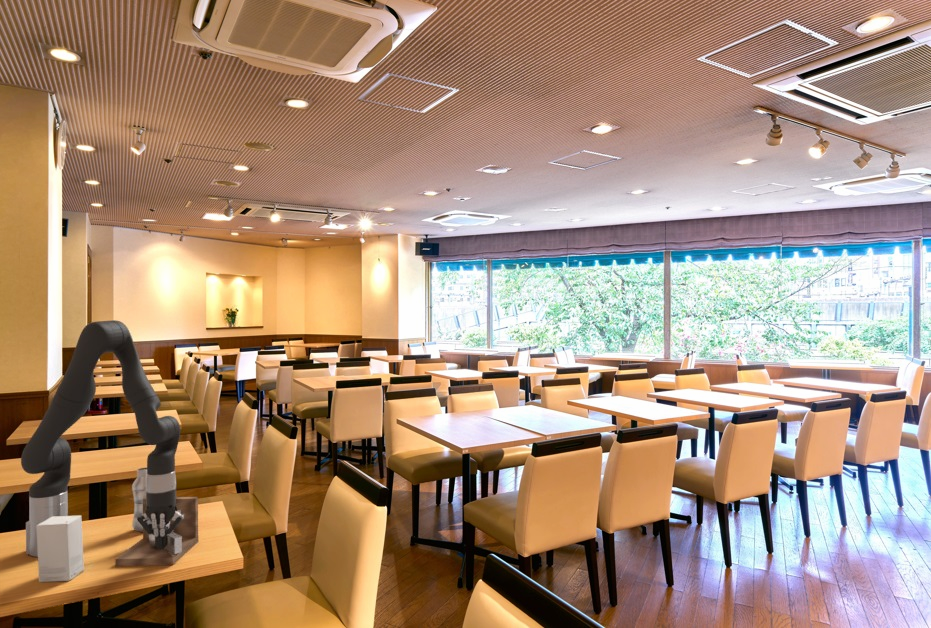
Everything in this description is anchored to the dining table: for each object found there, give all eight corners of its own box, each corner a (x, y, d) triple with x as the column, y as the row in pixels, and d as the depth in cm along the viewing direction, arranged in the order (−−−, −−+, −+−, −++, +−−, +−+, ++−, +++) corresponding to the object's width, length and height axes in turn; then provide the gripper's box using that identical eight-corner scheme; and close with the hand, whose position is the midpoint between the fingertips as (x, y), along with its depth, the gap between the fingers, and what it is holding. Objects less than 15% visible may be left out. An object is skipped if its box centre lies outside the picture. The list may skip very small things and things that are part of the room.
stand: (115, 565, 158) (115, 516, 157) (146, 542, 174) (145, 497, 173) (173, 565, 158) (172, 515, 158) (198, 541, 174) (198, 496, 174)
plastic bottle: (145, 534, 180) (145, 472, 179) (127, 532, 181) (127, 471, 181) (160, 526, 186) (159, 466, 186) (142, 525, 187) (142, 465, 187)
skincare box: (84, 570, 155) (84, 514, 155) (68, 582, 148) (67, 523, 148) (53, 571, 154) (53, 515, 154) (35, 583, 148) (35, 524, 148)
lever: (145, 544, 166) (145, 527, 166) (166, 537, 171) (166, 521, 171) (167, 556, 158) (167, 539, 158) (188, 549, 162) (188, 532, 162)
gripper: (130, 492, 156) (130, 554, 156) (178, 491, 156) (178, 553, 156) (144, 483, 163) (145, 543, 163) (190, 483, 164) (191, 542, 164)
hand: (161, 548), depth 160 cm, fingers closed
